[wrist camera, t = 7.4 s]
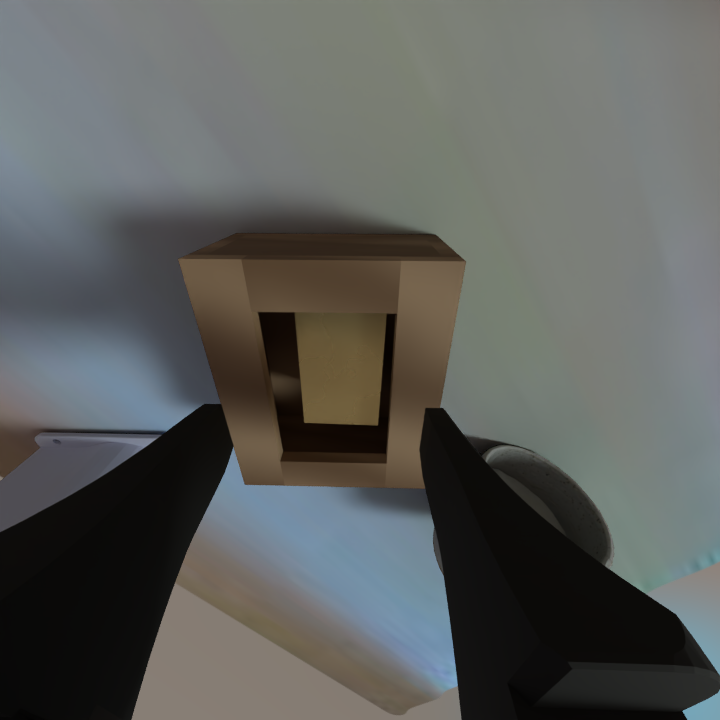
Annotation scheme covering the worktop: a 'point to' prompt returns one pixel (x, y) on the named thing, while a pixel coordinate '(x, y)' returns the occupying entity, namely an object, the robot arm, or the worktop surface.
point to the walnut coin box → (280, 350)
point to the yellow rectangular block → (341, 366)
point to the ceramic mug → (551, 500)
